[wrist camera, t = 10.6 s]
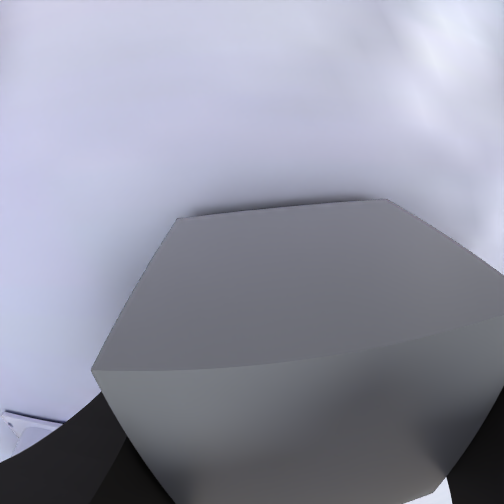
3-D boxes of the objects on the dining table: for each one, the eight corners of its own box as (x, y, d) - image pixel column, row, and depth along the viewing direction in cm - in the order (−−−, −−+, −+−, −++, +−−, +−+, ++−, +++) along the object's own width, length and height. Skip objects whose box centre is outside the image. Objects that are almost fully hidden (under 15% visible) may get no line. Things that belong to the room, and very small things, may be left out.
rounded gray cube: (372, 358, 11) (433, 492, 5) (211, 379, 11) (200, 532, 5) (386, 198, 9) (537, 302, 3) (177, 218, 9) (90, 370, 3)
